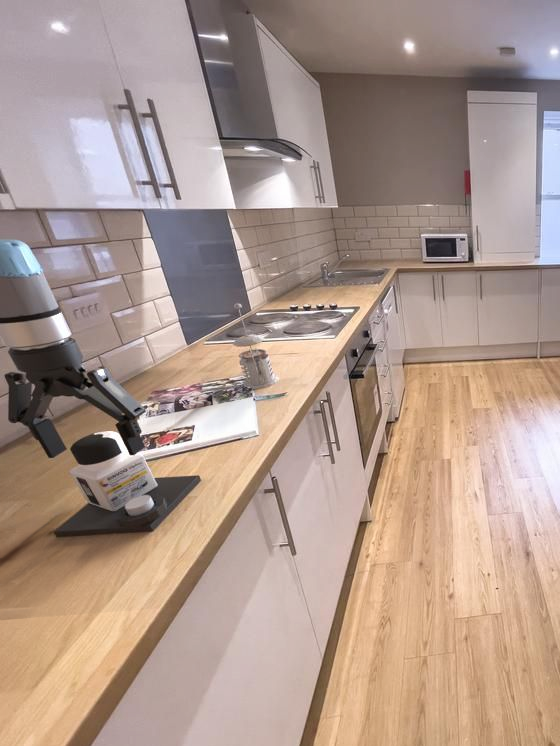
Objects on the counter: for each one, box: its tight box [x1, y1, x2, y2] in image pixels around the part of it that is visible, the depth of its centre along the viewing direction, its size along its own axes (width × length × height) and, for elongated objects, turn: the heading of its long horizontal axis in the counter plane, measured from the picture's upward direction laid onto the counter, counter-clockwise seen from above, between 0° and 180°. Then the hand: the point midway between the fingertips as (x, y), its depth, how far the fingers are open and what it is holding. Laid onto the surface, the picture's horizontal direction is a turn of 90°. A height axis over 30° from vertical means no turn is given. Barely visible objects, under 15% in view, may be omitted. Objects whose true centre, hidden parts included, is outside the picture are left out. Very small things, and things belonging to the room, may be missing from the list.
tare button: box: [125, 495, 154, 516], centre depth 73 cm, size 4×4×2 cm
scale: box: [52, 474, 202, 538], centre depth 77 cm, size 16×14×3 cm
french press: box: [232, 302, 280, 390], centre depth 122 cm, size 10×12×25 cm
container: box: [68, 430, 157, 511], centre depth 76 cm, size 8×8×13 cm
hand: (98, 452), depth 74 cm, fingers open, 13 cm apart
